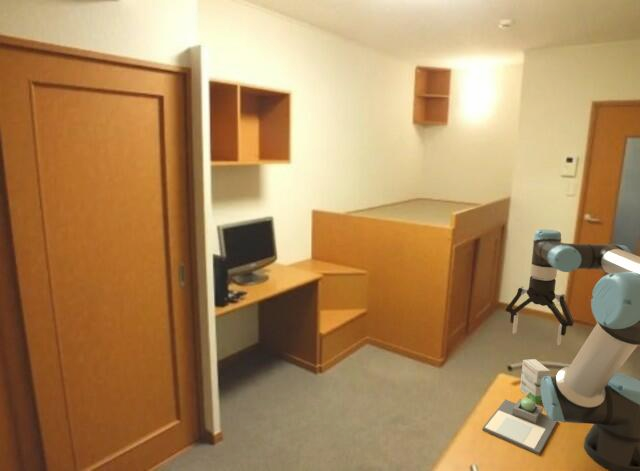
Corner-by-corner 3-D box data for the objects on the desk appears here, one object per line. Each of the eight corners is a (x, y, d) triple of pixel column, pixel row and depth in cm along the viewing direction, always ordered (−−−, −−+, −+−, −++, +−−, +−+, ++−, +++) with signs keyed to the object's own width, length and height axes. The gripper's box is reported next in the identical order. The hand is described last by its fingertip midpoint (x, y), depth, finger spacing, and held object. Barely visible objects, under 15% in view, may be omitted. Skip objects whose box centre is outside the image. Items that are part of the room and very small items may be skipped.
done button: (536, 408, 136) (537, 401, 135) (532, 414, 133) (533, 407, 133) (523, 403, 139) (523, 396, 138) (519, 409, 136) (519, 402, 135)
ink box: (547, 402, 144) (551, 370, 141) (534, 403, 143) (538, 371, 141) (531, 388, 152) (535, 358, 150) (518, 389, 152) (522, 359, 149)
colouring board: (557, 421, 134) (558, 412, 133) (539, 455, 119) (540, 444, 119) (505, 401, 144) (506, 393, 144) (482, 430, 130) (483, 420, 129)
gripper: (589, 281, 134) (580, 344, 138) (506, 267, 149) (500, 324, 153) (585, 287, 128) (576, 352, 132) (499, 272, 144) (494, 331, 148)
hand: (536, 337), depth 143 cm, fingers open, 13 cm apart
